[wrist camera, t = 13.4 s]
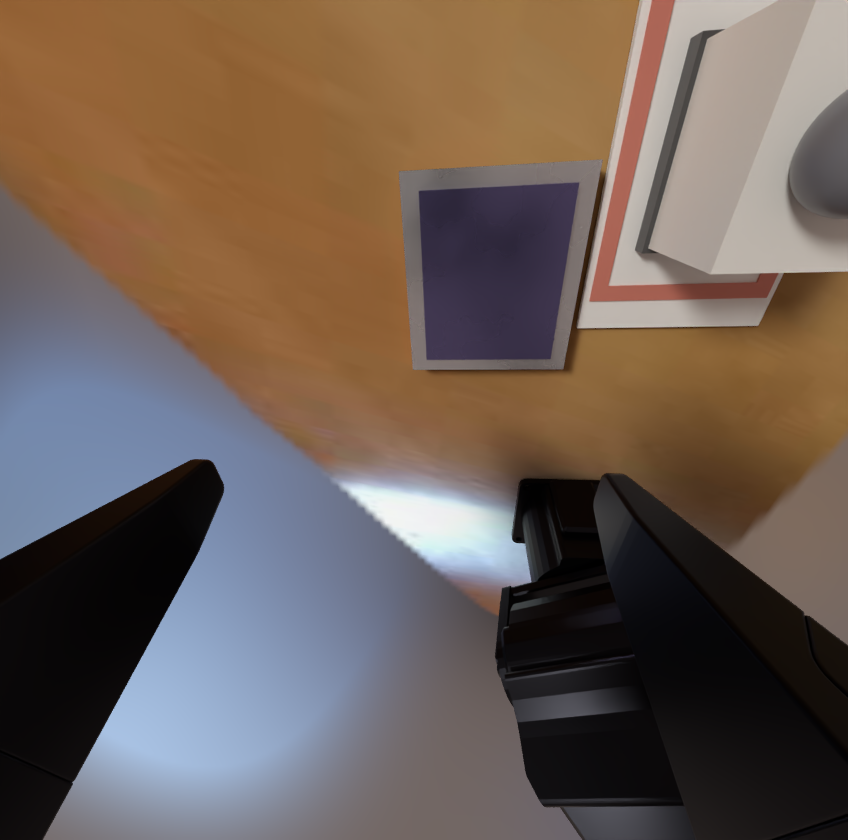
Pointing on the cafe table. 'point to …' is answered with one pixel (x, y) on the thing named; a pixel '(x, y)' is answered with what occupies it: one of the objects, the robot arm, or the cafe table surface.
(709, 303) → the sheet
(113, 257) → the cafe table surface
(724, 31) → the stamp
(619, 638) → the robot arm
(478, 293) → the ink pad
